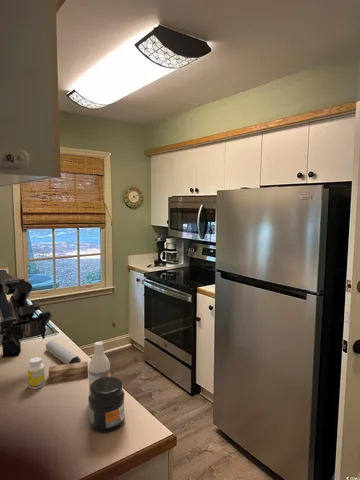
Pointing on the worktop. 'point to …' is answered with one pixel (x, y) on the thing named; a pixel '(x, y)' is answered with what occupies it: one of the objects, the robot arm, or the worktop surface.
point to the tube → (62, 353)
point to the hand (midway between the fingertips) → (31, 342)
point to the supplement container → (106, 404)
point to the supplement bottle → (36, 373)
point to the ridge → (68, 372)
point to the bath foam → (98, 364)
